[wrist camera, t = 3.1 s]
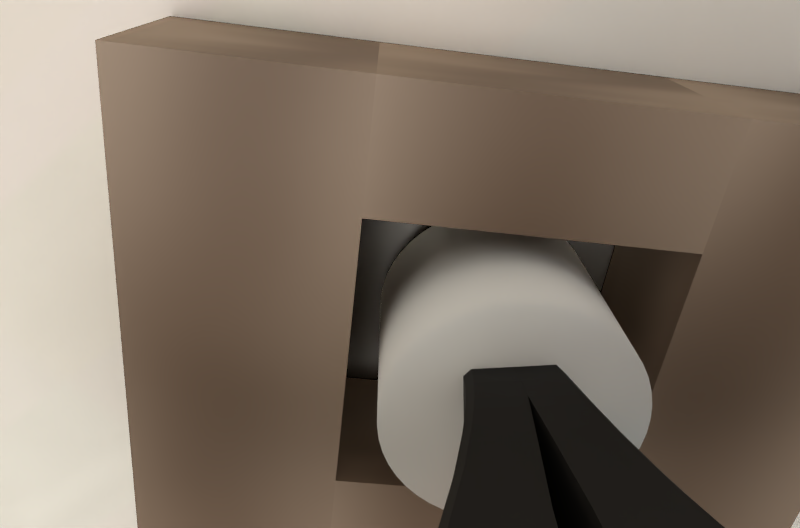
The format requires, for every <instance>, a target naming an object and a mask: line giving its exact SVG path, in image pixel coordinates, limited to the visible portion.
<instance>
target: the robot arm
mask: <svg viewBox="0 0 800 528" xmlns="http://www.w3.org/2000/svg"><path fill="white" fill-rule="evenodd" d="M463 401H464V424H463V432H462V437H461V442H460V447H459V452H458V457H457V461H456V466H455V471H454V475H453V479H452V483H451V486H450V490H449V493H448V496H447V500H446V503H445V507H444V510H443V513H442V517H441V520H440V524H439V527H438V528H725V527H724V526H722V525H721V524H720V523H719V522H718V521H716V520H715V519H714V518H713V517H712V516H711V515H710V514H708V513H707V512H706V511H705V510H704V509H703V508H702V507H700V506H699V505H698V504H697V503H696V502H695V501H693V500H692V499H691V498H690V497H689V496H688V495H687V494H685V493H684V492H683V491H682V490H681V489H680V488H679V487H678V486H677V485H676V484H675V483H673V482H672V481H671V480H670V479H669V478H668V477H667V476H666V475H665V474H664V473H663V472H662V471H660V470H659V469H658V468H657V467H656V466H655V465H654V464H653V463H652V462H651V461H650V460H649V459H648V458H647V457H646V456H645V455H644V454H643V453H642V452H641V451H640V450H639V449H638V448H637V447H636V446H635V445H634V444H632V443H631V442H630V441H629V440H628V439H627V438H626V437H625V436H624V435H623V434H622V433H621V432H620V431H619V430H618V429H617V428H616V427H615V425H614V424H613V423H612V422H611V421H610V420H609V419H608V418H607V417H606V416H605V415H604V414H603V413H602V412H601V411H600V410H599V409H598V408H597V407H596V406H595V405H594V404H593V402H592V401H591V400H590V399H589V398H588V397H587V396H586V395H585V394H584V393H583V392H582V391H581V390H580V389H579V387H578V386H577V385H576V384H575V383H574V382H573V381H572V380H571V379H570V378H569V377H568V376H567V374H566V373H565V372H564V371H563V370H562V369H561V368H559V367H558V366H557V365H540V366H521V367H502V368H482V369H471V370H470V371H468V372H467V373H466V374H465V375H464V376H463Z"/></svg>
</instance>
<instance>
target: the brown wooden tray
mask: <svg viewBox="0 0 800 528" xmlns="http://www.w3.org/2000/svg"><path fill="white" fill-rule="evenodd" d="M95 43H96V54H97V66H98V77H99V88H100V100H101V111H102V123H103V134H104V146H105V157H106V169H107V180H108V192H109V203H110V215H111V226H112V238H113V249H114V261H115V272H116V284H117V295H118V307H119V318H120V330H121V341H122V353H123V364H124V376H125V387H126V399H127V410H128V422H129V433H130V444H131V456H132V467H133V479H134V490H135V502H136V513H137V525H138V528H438V527H439V524H440V520H441V517H442V513H443V509H441V508H439V507H437V506H434V505H432V504H430V503H428V502H427V501H425V500H424V499H422V498H420V497H419V496H417V495H416V494H415V493H414V492H412V491H411V490H410V489H409V488H407V487H406V486H405V485H404V484H403V483H402V482H401V480H400V479H399V478H398V477H397V476H396V475H395V473H394V472H393V470H392V469H391V468H390V466H389V465H388V463H387V461H386V458H385V456H384V454H383V452H382V449H381V446H380V442H379V439H378V430H377V401H378V380H368V379H357V378H346V373H347V364H348V354H349V344H350V334H351V324H352V314H353V304H354V294H355V284H356V274H357V264H358V254H359V244H360V234H361V224H362V218H363V219H372V220H382V221H391V222H401V223H410V224H420V225H429V226H439V227H448V228H458V229H467V230H477V231H486V232H496V233H505V234H515V235H524V236H534V237H543V238H553V239H562V240H572V241H581V242H591V243H600V244H610V245H615V248H614V251H613V255H612V258H611V261H610V265H609V268H608V272H607V275H606V278H605V282H604V285H603V288H602V292H601V295H602V297H603V298H604V300H605V302H606V303H607V305H608V307H609V308H610V310H611V311H612V313H613V315H614V316H615V318H616V320H617V321H618V323H619V325H620V326H621V328H622V330H623V331H624V333H625V335H626V336H627V338H628V340H629V341H630V343H631V345H632V346H633V348H634V349H635V351H636V353H637V354H638V356H639V358H640V359H641V361H642V363H643V365H644V367H645V370H646V372H647V375H648V377H649V381H650V386H651V390H652V412H651V420H650V423H649V427H648V430H647V434H646V436H645V438H644V440H643V443H642V445H641V447H640V449H639V450H640V451H641V452H642V453H643V454H644V455H645V456H646V457H647V458H648V459H649V460H650V461H651V462H652V463H653V464H654V465H655V466H656V467H657V468H658V469H659V470H660V471H662V472H663V473H664V474H665V475H666V476H667V477H668V478H669V479H670V480H671V481H672V482H673V483H675V484H676V485H677V486H678V487H679V488H680V489H681V490H682V491H683V492H684V493H685V494H687V495H688V496H689V497H690V498H691V499H692V500H693V501H695V502H696V503H697V504H698V505H699V506H700V507H702V508H703V509H704V510H705V511H706V512H707V513H708V514H710V515H711V516H712V517H713V518H714V519H715V520H716V521H718V522H719V523H720V524H721V525H722V526H724V527H725V528H791V526H792V524H793V522H794V521H795V519H796V517H797V515H798V513H799V511H800V94H796V93H788V92H780V91H771V90H763V89H755V88H747V87H739V86H731V85H723V84H715V83H707V82H699V81H690V80H682V79H674V78H666V77H658V76H650V75H642V74H634V73H626V72H618V71H609V70H601V69H593V68H585V67H577V66H569V65H561V64H553V63H545V62H537V61H528V60H520V59H512V58H504V57H496V56H488V55H480V54H472V53H464V52H456V51H447V50H439V49H431V48H423V47H415V46H407V45H399V44H391V43H383V42H375V41H367V40H358V39H350V38H342V37H334V36H326V35H318V34H310V33H302V32H294V31H286V30H277V29H269V28H261V27H253V26H245V25H237V24H229V23H221V22H213V21H205V20H196V19H188V18H180V17H172V16H169V17H166V18H163V19H160V20H157V21H153V22H150V23H147V24H144V25H141V26H138V27H135V28H131V29H128V30H125V31H122V32H119V33H116V34H113V35H110V36H106V37H103V38H100V39H97V40H95Z"/></svg>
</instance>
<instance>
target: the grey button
mask: <svg viewBox="0 0 800 528" xmlns="http://www.w3.org/2000/svg"><path fill="white" fill-rule="evenodd" d="M540 365H557V366H558V367H559V368H561V369H562V370H563V371H564V372H565V373H566V374H567V376H568V377H569V378H570V379H571V380H572V381H573V382H574V383H575V384H576V385H577V386H578V387H579V389H580V390H581V391H582V392H583V393H584V394H585V395H586V396H587V397H588V398H589V399H590V400H591V401H592V402H593V404H594V405H595V406H596V407H597V408H598V409H599V410H600V411H601V412H602V413H603V414H604V415H605V416H606V417H607V418H608V419H609V420H610V421H611V422H612V423H613V424H614V425H615V427H616V428H617V429H618V430H619V431H620V432H621V433H622V434H623V435H624V436H625V437H626V438H627V439H628V440H629V441H630V442H631V443H632V444H634V445H635V446H636V447H637V448H638V449H640V447H641V445H642V443H643V440H644V438H645V436H646V434H647V430H648V427H649V423H650V420H651V412H652V390H651V386H650V381H649V377H648V375H647V372H646V370H645V367H644V365H643V363H642V361H641V359H640V358H639V356H638V354H637V353H636V351H635V349H634V348H633V346H632V345H631V343H630V341H629V340H628V338H627V336H626V335H625V333H624V331H623V330H622V328H621V326H620V325H619V323H618V321H617V320H616V318H615V316H614V315H613V313H612V311H611V310H610V308H609V307H608V305H607V303H606V302H605V300H604V298H603V297H602V295H601V293H600V292H599V290H598V288H597V287H596V285H595V283H594V282H593V280H592V278H591V277H590V275H589V273H588V272H587V270H586V269H585V267H584V265H583V264H582V262H581V260H580V259H579V257H578V255H577V254H576V252H575V251H574V249H573V248H572V247H571V246H570V244H569V243H568V242H567V241H566V240H562V239H553V238H543V237H534V236H524V235H515V234H505V233H496V232H486V231H477V230H467V229H458V228H448V227H439V226H432V227H430V228H428V229H427V230H425V231H424V232H422V233H421V234H419V235H418V236H417V237H416V238H414V239H413V240H412V241H411V242H410V243H409V244H408V245H407V246H406V247H405V248H404V249H403V250H402V251H401V252H400V254H399V255H398V257H397V258H396V259H395V261H394V262H393V264H392V266H391V268H390V270H389V271H388V273H387V276H386V279H385V281H384V284H383V288H382V293H381V300H380V329H379V365H378V401H377V430H378V439H379V442H380V446H381V449H382V452H383V454H384V456H385V458H386V461H387V463H388V465H389V466H390V468H391V469H392V470H393V472H394V473H395V475H396V476H397V477H398V478H399V479H400V480H401V482H402V483H403V484H404V485H405V486H406V487H407V488H409V489H410V490H411V491H412V492H414V493H415V494H416V495H417V496H419V497H420V498H422V499H424V500H425V501H427V502H428V503H430V504H432V505H434V506H437V507H439V508H441V509H443V510H444V507H445V503H446V500H447V496H448V493H449V490H450V486H451V483H452V479H453V475H454V471H455V466H456V461H457V457H458V452H459V447H460V442H461V437H462V432H463V424H464V401H463V376H464V375H465V374H466V373H467V372H468V371H470V370H471V369H482V368H502V367H521V366H540Z"/></svg>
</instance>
